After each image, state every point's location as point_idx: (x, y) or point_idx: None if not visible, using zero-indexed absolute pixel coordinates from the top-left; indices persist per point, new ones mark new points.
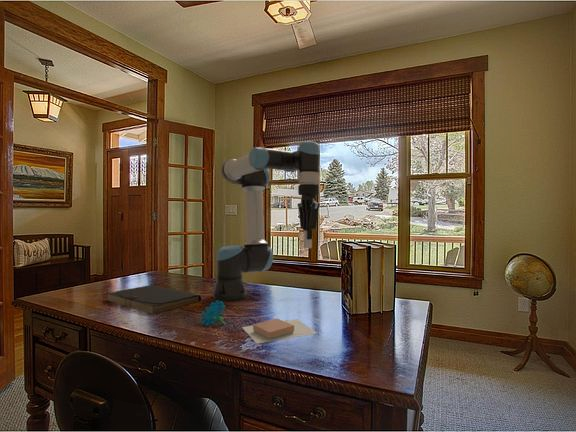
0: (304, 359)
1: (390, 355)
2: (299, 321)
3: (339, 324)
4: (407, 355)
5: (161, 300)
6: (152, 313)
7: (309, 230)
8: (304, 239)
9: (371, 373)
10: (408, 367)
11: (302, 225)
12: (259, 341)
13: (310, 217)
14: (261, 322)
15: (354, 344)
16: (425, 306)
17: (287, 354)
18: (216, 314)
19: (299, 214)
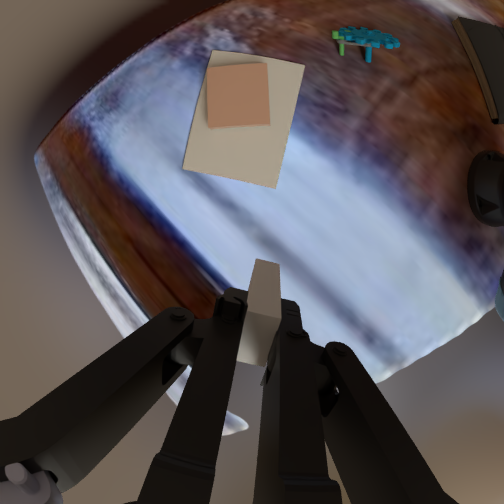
0: (126, 91)
1: (76, 209)
2: (259, 182)
3: (200, 246)
4: (69, 228)
5: (483, 46)
6: (452, 21)
7: (209, 322)
8: (267, 282)
9: (63, 148)
10: (53, 200)
11: (327, 362)
12: (217, 56)
13: (110, 369)
14: (267, 81)
15: (119, 193)
16: None
17: (152, 76)
18: (351, 32)
19: (409, 445)
